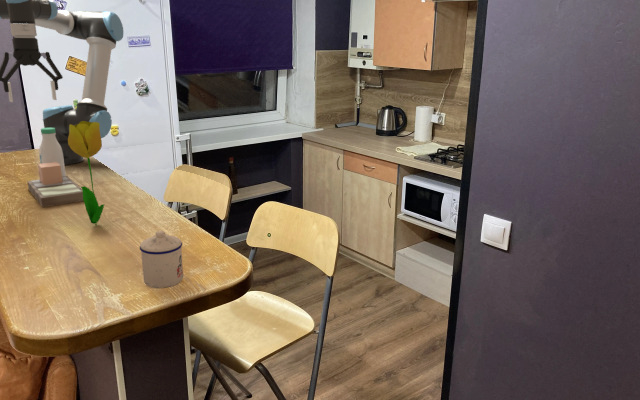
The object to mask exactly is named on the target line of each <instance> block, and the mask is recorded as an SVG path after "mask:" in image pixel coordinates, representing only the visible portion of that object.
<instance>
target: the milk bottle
mask: <svg viewBox="0 0 640 400" xmlns="http://www.w3.org/2000/svg"><path fill="white" fill-rule="evenodd" d="M55 132H56V131H55V128H44V127H42V128H40V135H41V137H42V139H41V143H40V146H39V150H38V151H39V152H38V153H39V164H44V163H52V162H57V163H58V164H60V165H61V172H62V177H63V176H67V174H66V167H65V165H64V158H63V152H62V148H61V146H60V144H59V143H58V141H57V139H56V137H55V134H56V133H55Z"/></svg>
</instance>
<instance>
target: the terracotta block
mask: <svg viewBox="0 0 640 400" xmlns="http://www.w3.org/2000/svg"><path fill="white" fill-rule="evenodd" d="M37 169H38V175H39V180H40V181H41V182H42V184H43V185H47V184H54V183H62V182H63V180H62V172H61V165H60V164H58V163H57V162H52V163H44V164H40V163H37Z"/></svg>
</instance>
